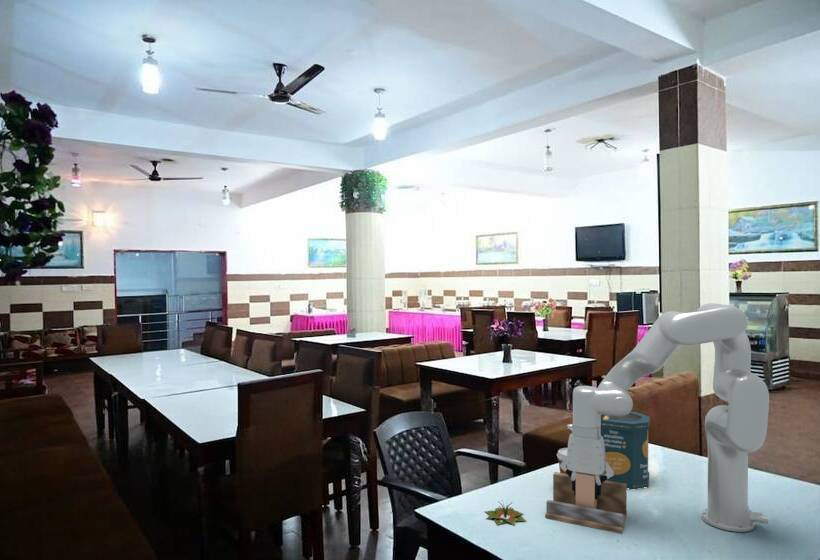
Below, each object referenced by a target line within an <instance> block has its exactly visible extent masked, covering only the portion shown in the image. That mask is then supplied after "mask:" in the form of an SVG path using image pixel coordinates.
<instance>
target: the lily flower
mask: <svg viewBox="0 0 820 560" xmlns="http://www.w3.org/2000/svg"><path fill="white" fill-rule="evenodd" d="M508 501H509V500H507V502H506V503H508ZM497 502H498V503H499V504H500V505H501V506H499V505H498V507H497V508H495V509H494V510H493V509H492V510H487V511H486V510H485V511H484V512H485V513H487V514H488V516H487V518H486V520H488V519H494V521H495V523H496V525H497V526H499V525H502V524H504V523H509V524H510V525H511V524H512V525H513V526H515V525H516V522H527V520H526V519H525V518H524V517H522V516H520V515H523V513H522V512H520V511H518V510H515V509H514V507H512V506H511V507H510V505H511V504H513V501H511V502H510V503H509V504H506V506H505V504H504V501H503V499H501V502H503V503H501V502H500V501H499V500H498V501H497ZM502 516H503V517H502ZM507 516H509V517H508V518H507ZM501 519H502V521H501Z"/></svg>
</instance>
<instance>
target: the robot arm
mask: <svg viewBox="0 0 820 560" xmlns="http://www.w3.org/2000/svg"><path fill="white" fill-rule="evenodd" d="M748 322H749V321H748V318H747V316H746V314H745V312H744V311H743V310H742V309H740V308H739V307H736V306H734V305H729V304H721V303H705V304H702V305H701V306H700V307H699V308H697V310H696V311H690V312H681V311H676V310H675V311H672V310H671V311H666V312H664V313H662V314H661V315H660V316H659V317H658V318H657V319H656V320H655V321H654V323H652V326H651V327H650V328H649V329H648V330H647V331H646V333H645V334H644V336H643V337H642V338H641V339H640V341H639V342H638V343H637V345H636V346H635V347H634V348H633V349H632V350H631V351H630V352H629V353H628V354H626V356H624V357H623V358H622V359H620V360H619V362H617V363H616V364H615V365H614V366H613V367H612V368H611V369H610V370H609V372H608V373H607V374H606V375H605V376H604V378H603V379H602V381H601V382H600V383H599V385H598V386H597V387H595V386H591V385H578V386H576V387H574V388H573V391H572V423H571V424H567V425H566V426H567V428H566V429H567V430H570V431H571V433H569V436H568V441H567V448H568V450H567V458H566V459H565V460H564V461H563V462H562V463H561V464H560V467H561V468H562V469H563V470H564V471H565V472H566V473H567V475H568V476H569V477H570V478H571V480H572V491H574V495H576V472H578V473H584V474H590V475H595V480H596V484H595V499H598V496H600V495H601V484H602V483H603V482H604V481H606V480H607V479H608V478H610V477H612V476H613V475H614V471H613V470H612V469H611V467H610V466H609V465H608V463H607V462H606V454H605V445H604V439H603V437H602V436H601V414H604V415H610V416H616V417H621V416H625V415H627V414H628V413H630V412H632V410H633V407H634V406H633V405H634V402H633V399H632V397H631V396H630V394H629V392H628V391H629V389H631V387H632V386H633V385H634V384H635V383H636V382H637V381H639V380H640V379H642V378H644V377H645V376H646V377H647V376H648V375H652V374H654V373H657V372H658V371H660V370H661V369H662V368H663V366H665V364H666V362H668V360H669V359H670V358H671V356H672V355H673V354H674V352H676V350H677V349H678V348H679V346H680V345H681V346H694V345H701V344H708V343H713V345H714V367H713V377H712V390H713V393H714V394H715V395H716V397H718V398H719V399H720V400H722V401H724V402H727V403H728V405H726V404H725V405H724V404H719V405H717V406H714V407H712V408H710V410H709V411H708V412H707V414H706V415H705V420H704V430H705V435H706V442H707V507H706V508H705V509H703V510H702V511H701V513H700V515H701V516H700V517H701V519H702V521H704V522H705V523H707V524H708V525H710V526H712V527H715V528H717V529H720V530H724V531H730V532H737V533H743V532H744V533H745V532H751V531H753V530H754V529H755V522H757V523H761V524H766V525H768V524H769V515H762V512H758V511H752V509H750V507H749V504H748V503H749V502H748V501H749V492H748V491H749V490H748V489H749V457H748V454H749V453H754V452H756V451H759V449H760V448H761V447H762V446H763V444H764V443H765V441H766V437H767V431H768V423H769V409H770V392H769V389H768V386H767V384H766V382H765V381H764V380H763V379H762V378H761V377H759V376H758V375H756V374H753V373H752V372H751V370H752V369H751V367H752V366H751V365H752V348H751V343H750V339H749V337H748V334H747V333H746V330H747V327H748ZM605 470H606V471H607V473H606V474H604V472H605ZM603 474H604V475H603ZM601 475H602V476H601Z"/></svg>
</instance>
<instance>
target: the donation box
mask: <svg viewBox="0 0 820 560" xmlns="http://www.w3.org/2000/svg"><path fill="white" fill-rule="evenodd" d="M649 428H650V416H649V415H646V414H642V413H639V412H637V411H630V413H628V414H627V415H625V416H621V417H616V416H610V415H604V414H601V436H602V437H603V439H604V445H605V454H606V462H607V463H608V465H609V466H610V467H611V469H612V470H613V471H614V475H613V476H612V477H610V478H608V479H607V481H613V482H619V483H625V484H627V488H629V489H628V490H631V489H635V490H639V489H638V488H641V489H645V488H644V487H647V488H649V485H650V472H649ZM606 473H607V471H606V470H605V472H604V474H606ZM604 474H603V475H604ZM601 476H602V475H601Z"/></svg>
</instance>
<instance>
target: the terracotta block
mask: <svg viewBox="0 0 820 560" xmlns="http://www.w3.org/2000/svg"><path fill="white" fill-rule="evenodd" d="M595 484H596V480H595V475H590V474H584V473H578V472H576V505H578V506H584V507H589V508H594V509H596V507H597V499H595Z"/></svg>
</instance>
